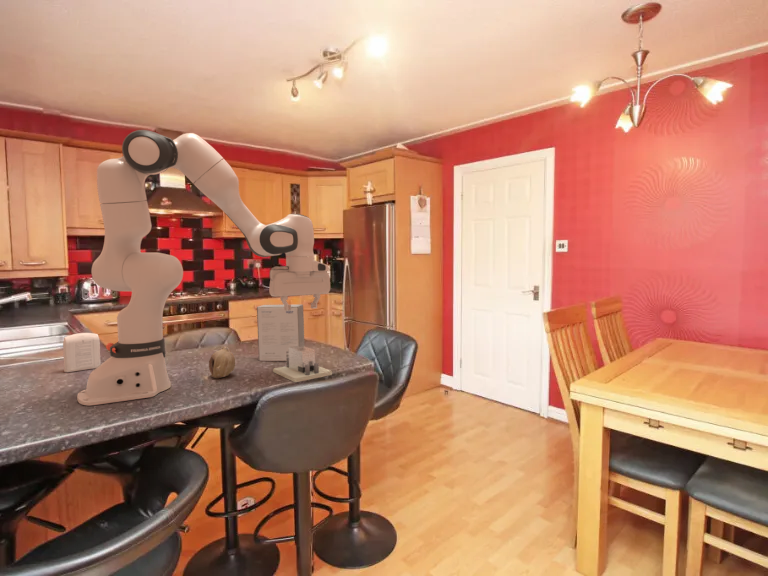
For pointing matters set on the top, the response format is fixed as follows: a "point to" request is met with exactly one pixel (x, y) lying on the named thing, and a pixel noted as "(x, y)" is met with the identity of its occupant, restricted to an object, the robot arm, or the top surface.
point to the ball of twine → (221, 363)
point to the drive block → (301, 358)
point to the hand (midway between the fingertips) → (301, 309)
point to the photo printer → (81, 352)
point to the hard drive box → (279, 331)
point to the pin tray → (298, 376)
